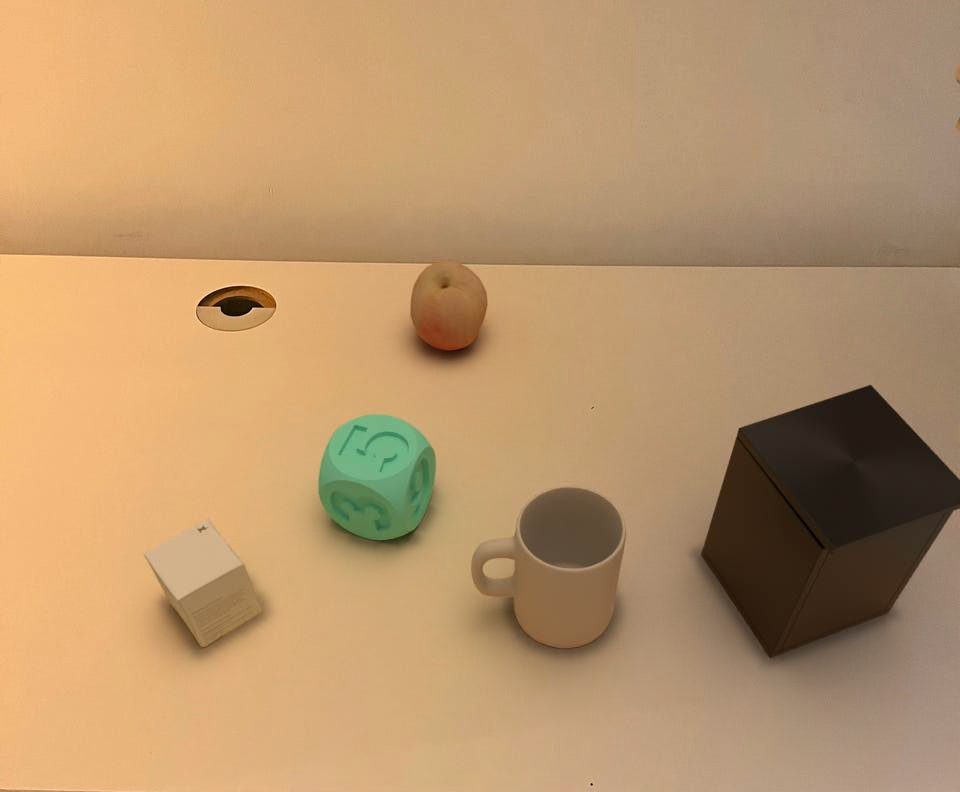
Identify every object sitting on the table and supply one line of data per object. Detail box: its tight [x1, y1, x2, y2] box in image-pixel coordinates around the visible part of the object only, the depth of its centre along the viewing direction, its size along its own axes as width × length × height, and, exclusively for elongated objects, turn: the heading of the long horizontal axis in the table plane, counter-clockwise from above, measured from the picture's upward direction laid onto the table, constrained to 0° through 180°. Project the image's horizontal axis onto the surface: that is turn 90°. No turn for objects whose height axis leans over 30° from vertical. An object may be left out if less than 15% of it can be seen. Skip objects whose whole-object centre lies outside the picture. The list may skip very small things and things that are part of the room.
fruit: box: [409, 259, 489, 351], centre depth 95 cm, size 8×8×8 cm
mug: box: [470, 485, 627, 649], centre depth 76 cm, size 12×8×11 cm
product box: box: [143, 518, 263, 648], centre depth 78 cm, size 6×6×7 cm
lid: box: [736, 384, 960, 555], centre depth 68 cm, size 12×12×1 cm
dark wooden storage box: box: [700, 435, 954, 659], centre depth 75 cm, size 12×12×15 cm
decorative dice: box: [317, 413, 437, 541], centre depth 83 cm, size 8×8×8 cm
